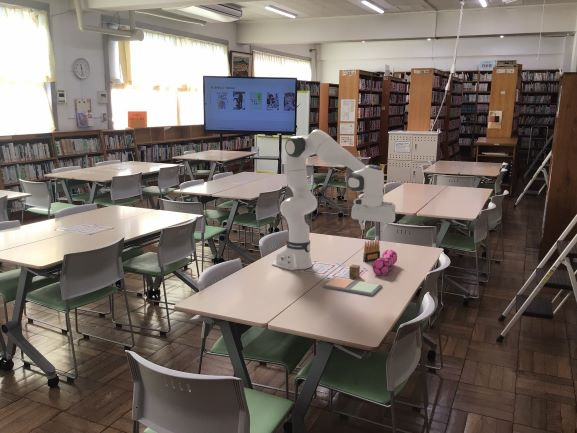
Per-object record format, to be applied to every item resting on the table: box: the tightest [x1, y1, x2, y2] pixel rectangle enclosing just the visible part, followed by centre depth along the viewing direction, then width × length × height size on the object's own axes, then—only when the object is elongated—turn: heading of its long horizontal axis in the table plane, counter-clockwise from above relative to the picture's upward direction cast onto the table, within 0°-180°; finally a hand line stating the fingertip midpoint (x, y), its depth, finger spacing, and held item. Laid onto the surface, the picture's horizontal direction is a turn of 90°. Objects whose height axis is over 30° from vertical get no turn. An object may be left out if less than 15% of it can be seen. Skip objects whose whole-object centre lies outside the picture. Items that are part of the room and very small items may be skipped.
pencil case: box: [371, 249, 398, 276], centre depth 257 cm, size 21×10×10 cm, turn 157°
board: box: [322, 276, 383, 297], centre depth 234 cm, size 25×14×1 cm, turn 61°
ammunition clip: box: [362, 238, 381, 263], centre depth 274 cm, size 11×2×12 cm, turn 119°
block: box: [348, 264, 361, 280], centre depth 247 cm, size 4×4×6 cm
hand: (372, 230), depth 224 cm, fingers open, 8 cm apart
